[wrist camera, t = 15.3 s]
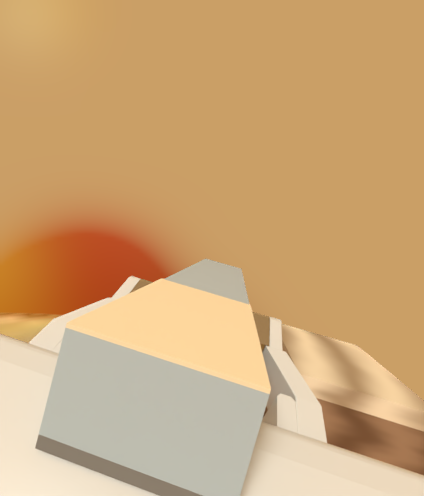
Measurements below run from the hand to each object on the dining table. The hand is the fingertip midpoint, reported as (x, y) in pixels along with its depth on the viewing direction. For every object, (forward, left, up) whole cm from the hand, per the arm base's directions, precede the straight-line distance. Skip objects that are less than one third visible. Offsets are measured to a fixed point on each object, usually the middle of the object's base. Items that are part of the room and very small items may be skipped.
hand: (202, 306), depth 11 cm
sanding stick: (0, +4, -2) cm, 5 cm away
